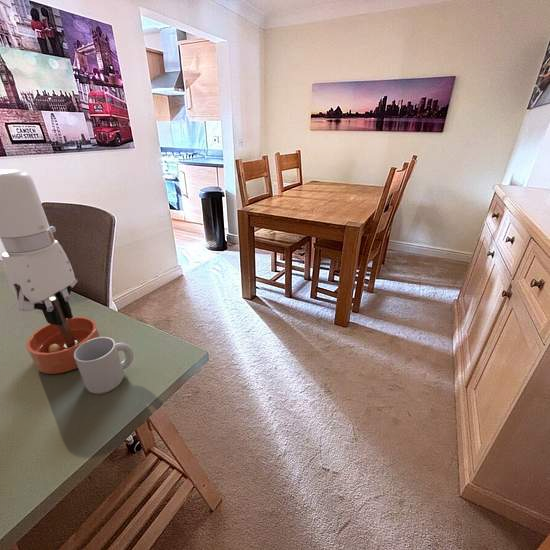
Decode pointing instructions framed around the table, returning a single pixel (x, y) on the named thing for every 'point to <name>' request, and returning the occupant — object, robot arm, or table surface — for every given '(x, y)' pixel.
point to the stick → (64, 325)
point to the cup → (102, 363)
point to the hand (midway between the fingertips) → (61, 320)
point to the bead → (54, 348)
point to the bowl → (50, 335)
